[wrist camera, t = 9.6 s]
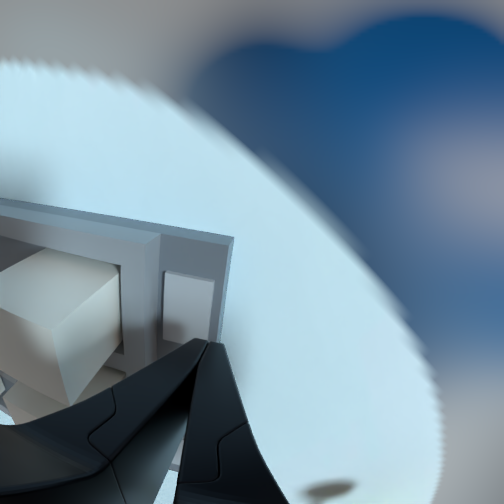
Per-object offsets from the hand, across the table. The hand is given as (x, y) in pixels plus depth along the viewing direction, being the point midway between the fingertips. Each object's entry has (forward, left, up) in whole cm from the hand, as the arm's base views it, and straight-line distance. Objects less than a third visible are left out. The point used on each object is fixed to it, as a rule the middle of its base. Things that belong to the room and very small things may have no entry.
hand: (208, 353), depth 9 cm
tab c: (0, +5, -2) cm, 5 cm away
